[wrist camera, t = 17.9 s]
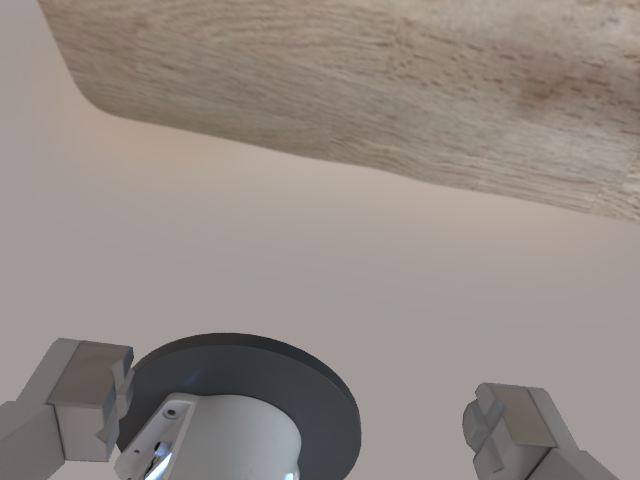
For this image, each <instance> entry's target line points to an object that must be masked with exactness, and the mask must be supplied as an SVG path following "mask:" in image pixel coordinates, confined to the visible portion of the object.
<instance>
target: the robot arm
mask: <svg viewBox="0 0 640 480" xmlns="http://www.w3.org/2000/svg"><path fill="white" fill-rule="evenodd" d="M133 359H134V355H133V348H132V347H130V346H122V345H114V344H107V343H99V342H91V341H82V340H73V339H64V338H58V340H56V341H55V342H54V343H52V345H51V346H50V348H49V350H48V351H47V353H46V354H45V356H44V357H43V359H42V361H41V362H40V364H39V365H38V367H37V368H36V370H35V372H34V373H33V375H32V376H31V378H30V379H29V381H28V383H27V384H26V386H25V388H24V389H23V390H22V392H21V394H20V395H19V397H18V398H17V400H16V401H7V402H5V403H4V404H2V405H1V406H0V480H47V479H48V478H49V477H50V476H51V475H52V474H54V473H55V472H56V471H57V470H58V469H59V468H60V467H61V466H62V465H63V464H64V463H65V460H69V461H90V462H109V459H110V456H111V454H112V451H113V449H114V446H115V443H116V441H117V438H118V436H119V420H120V419H121V418H123V417H124V416H125V415H126V414H127V412H128V409H129V406H130V403H131V399H132V395H133V391H134V383H135V372H134V371H133V370H132V369H131V368H130V366H131V364H132V361H133ZM475 393H476V397H477V399H476V400H474V401H473V402H471V403H469V404H468V405H467V407H466V410H465V411H464V414H463V424H462V425H463V432H464V436H465V439H466V442H467V444H468V445H469V446H470V447H471V448H472V449H473V451H474V452H475V453H476V454H475V456H474V459H473V464H474V467H475V470H476V473H477V476H478V479H479V480H619V479H618V478H617V477H616V476H614V475H613V474H612V473H611V472H610V471H609V470H608V469H606V468H605V467H604V466H603V465H602V464H601V463H599V462H598V461H597V460H596V459H595V458H593V457H592V456H591V455H590V454H589V453H588V452H587V451H582V450H579V448H578V446H577V444H576V442H575V441H574V439H573V437H572V435H571V433H570V432H569V430H568V428H567V426H566V424H565V422H564V421H563V419H562V417H561V415H560V413H559V412H558V410H557V408H556V406H555V404H554V403H553V401H552V399H551V397H550V395H549V394H548V392H547V391H545V390H544V389H543V388H534V387H525V386H523V387H522V386H517V385H506V384H495V383H482V384H480V385H479V386H478V388H477V390H476V391H475ZM300 450H301V436H300V433H299V430H298V428H297V427H296V425H295V423H294V422H293V421H292V420H291V419H290V418H289V417H288V416H287V415H286V414H285V413H284V412H282V411H281V410H280V409H278V408H276V407H275V406H273V405H271V404H269V403H267V402H264V401H262V400H259V399H255V398H252V397H247V396H241V395H213V396H198V395H193V394H188V393H180V392H175V393H171V394H169V395H168V396H167V397H166V399H165V400H164V401H163V402H162V403H161V405H160V406H159V407H158V408H157V410H156V411H155V412H154V413H153V415H152V416H151V417H150V418H149V420H148V421H147V422H146V423H145V425H144V426H143V427H142V428H141V430H140V431H139V432H138V433H137V435H136V436H135V437H134V438H133V440H132V441H131V442H130V443H129V445H128V446H127V447H126V448H125V449H124V451H123V452H122V453H121V454H120V456H119V457H118V459H117V460H116V463H115V466H114V470H115V472H116V473H117V474H118V476H119V478H120V479H121V480H299V477H300V471H299V467H298V464H297V460H298V457H299V453H300Z"/></svg>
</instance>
